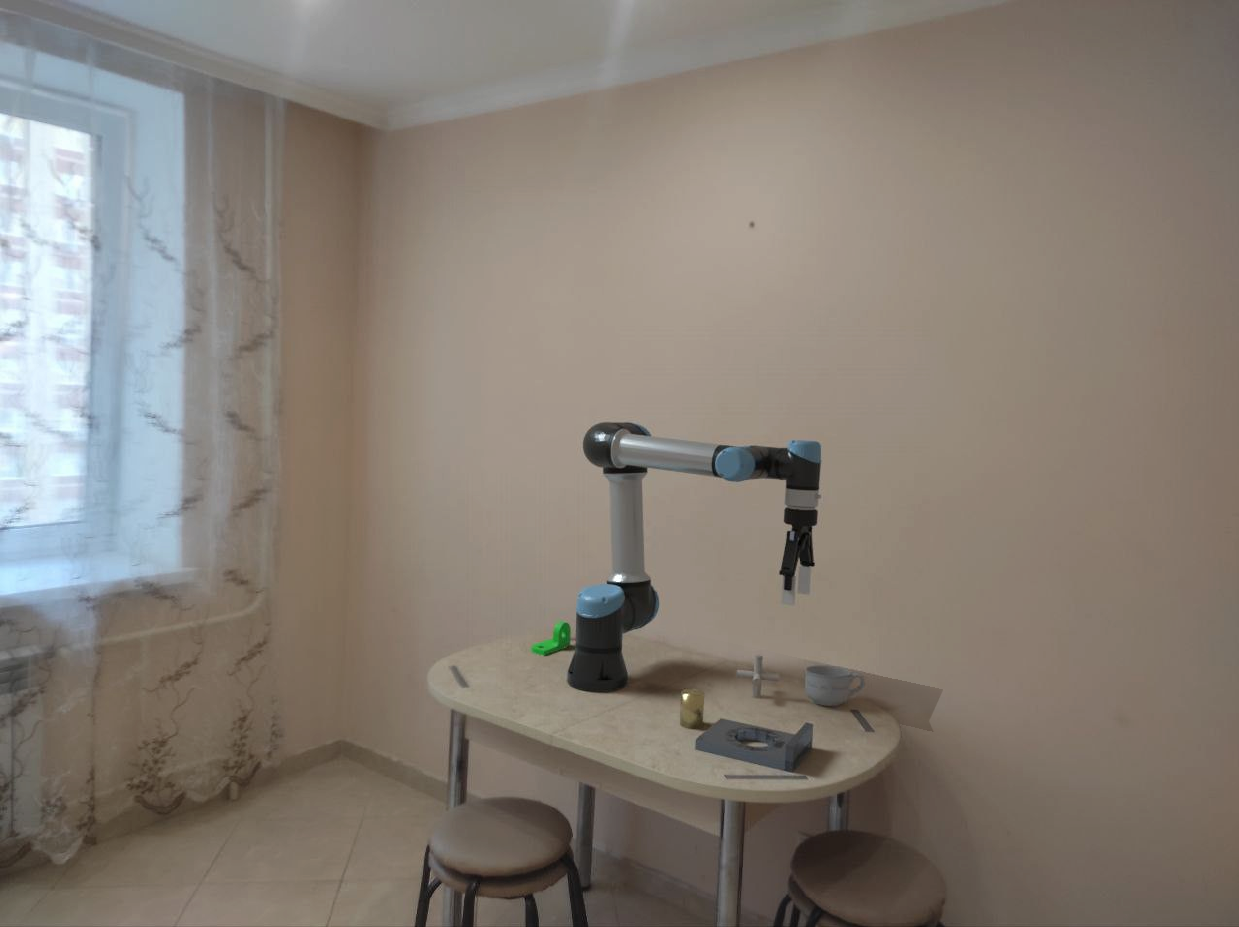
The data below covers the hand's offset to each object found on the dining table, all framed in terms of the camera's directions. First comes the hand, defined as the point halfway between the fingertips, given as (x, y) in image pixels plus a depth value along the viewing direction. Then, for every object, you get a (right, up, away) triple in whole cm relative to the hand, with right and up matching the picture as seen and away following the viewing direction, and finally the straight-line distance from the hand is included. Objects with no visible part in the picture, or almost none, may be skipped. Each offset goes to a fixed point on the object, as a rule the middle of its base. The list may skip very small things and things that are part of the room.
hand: (795, 598), depth 192 cm
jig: (-13, -27, -23) cm, 38 cm away
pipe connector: (-8, -25, +9) cm, 28 cm away
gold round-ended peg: (-25, -26, -11) cm, 38 cm away
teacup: (+10, -26, +6) cm, 29 cm away
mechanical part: (-61, -22, +41) cm, 76 cm away
